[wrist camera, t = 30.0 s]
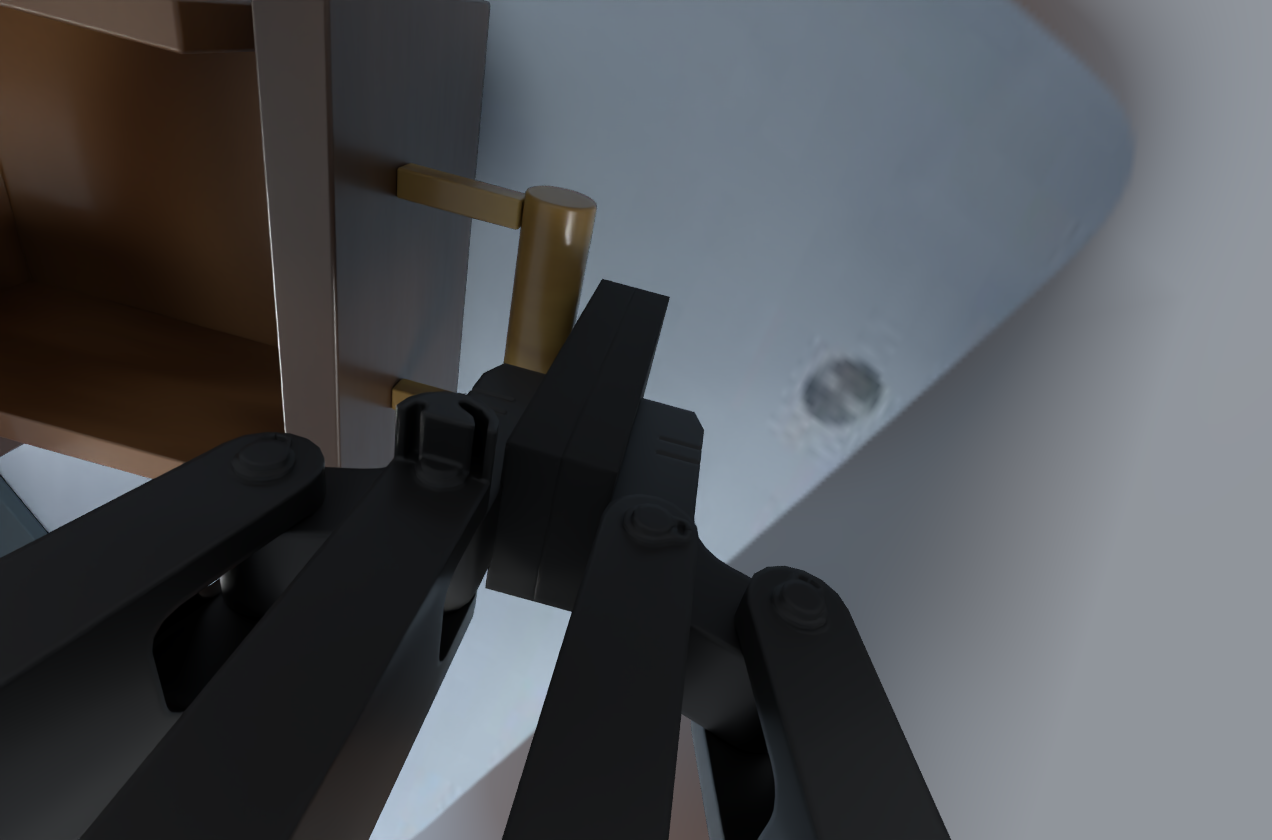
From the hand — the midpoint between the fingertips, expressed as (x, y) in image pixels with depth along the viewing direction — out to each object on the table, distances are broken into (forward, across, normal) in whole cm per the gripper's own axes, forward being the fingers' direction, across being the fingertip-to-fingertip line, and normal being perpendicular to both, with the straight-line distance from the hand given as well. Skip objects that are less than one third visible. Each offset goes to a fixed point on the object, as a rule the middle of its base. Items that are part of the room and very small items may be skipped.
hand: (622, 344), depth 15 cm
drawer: (+4, -10, 0) cm, 10 cm away
